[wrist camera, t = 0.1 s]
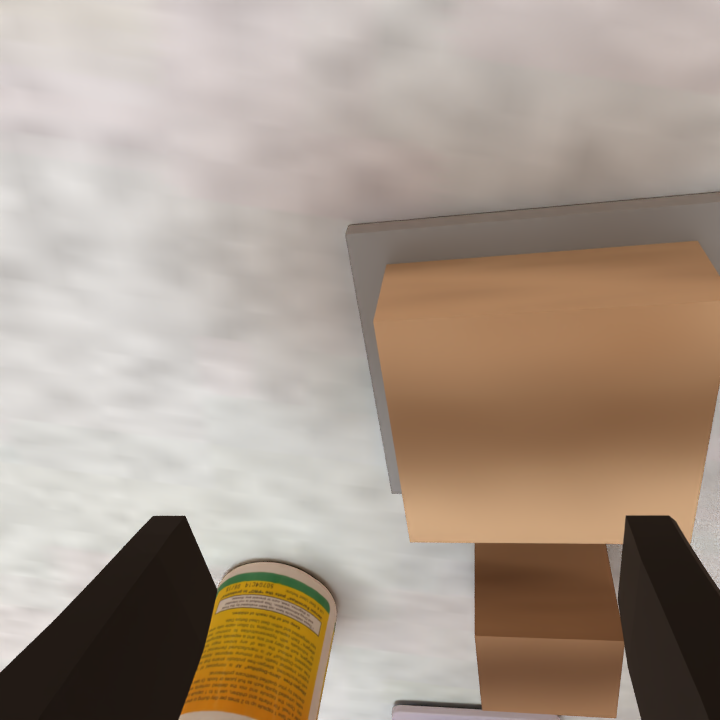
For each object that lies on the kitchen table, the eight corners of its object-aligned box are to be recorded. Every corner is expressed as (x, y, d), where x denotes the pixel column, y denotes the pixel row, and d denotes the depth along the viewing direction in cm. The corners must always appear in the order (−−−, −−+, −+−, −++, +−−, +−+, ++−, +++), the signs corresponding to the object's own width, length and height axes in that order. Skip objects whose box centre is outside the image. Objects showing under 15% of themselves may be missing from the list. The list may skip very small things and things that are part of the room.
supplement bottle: (349, 633, 30) (306, 891, 23) (238, 632, 31) (162, 876, 24) (323, 555, 27) (263, 821, 20) (202, 557, 29) (101, 808, 21)
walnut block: (594, 590, 26) (616, 718, 22) (480, 587, 27) (482, 710, 23) (599, 513, 24) (625, 640, 20) (474, 513, 25) (474, 636, 21)
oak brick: (665, 469, 21) (690, 544, 19) (416, 473, 23) (410, 542, 21) (697, 240, 17) (734, 300, 15) (386, 264, 19) (373, 321, 16)
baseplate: (691, 478, 22) (695, 491, 22) (393, 481, 24) (391, 493, 24) (739, 190, 17) (747, 199, 16) (348, 225, 19) (345, 234, 18)
